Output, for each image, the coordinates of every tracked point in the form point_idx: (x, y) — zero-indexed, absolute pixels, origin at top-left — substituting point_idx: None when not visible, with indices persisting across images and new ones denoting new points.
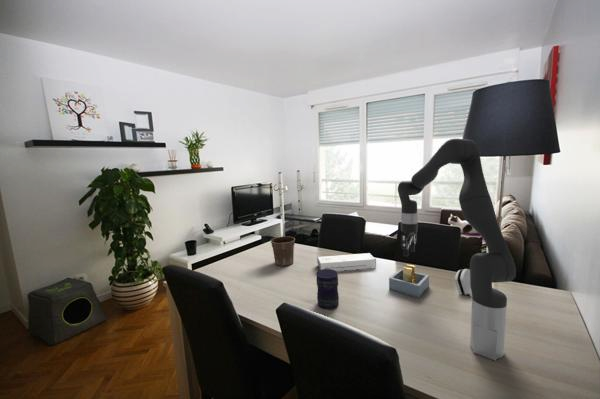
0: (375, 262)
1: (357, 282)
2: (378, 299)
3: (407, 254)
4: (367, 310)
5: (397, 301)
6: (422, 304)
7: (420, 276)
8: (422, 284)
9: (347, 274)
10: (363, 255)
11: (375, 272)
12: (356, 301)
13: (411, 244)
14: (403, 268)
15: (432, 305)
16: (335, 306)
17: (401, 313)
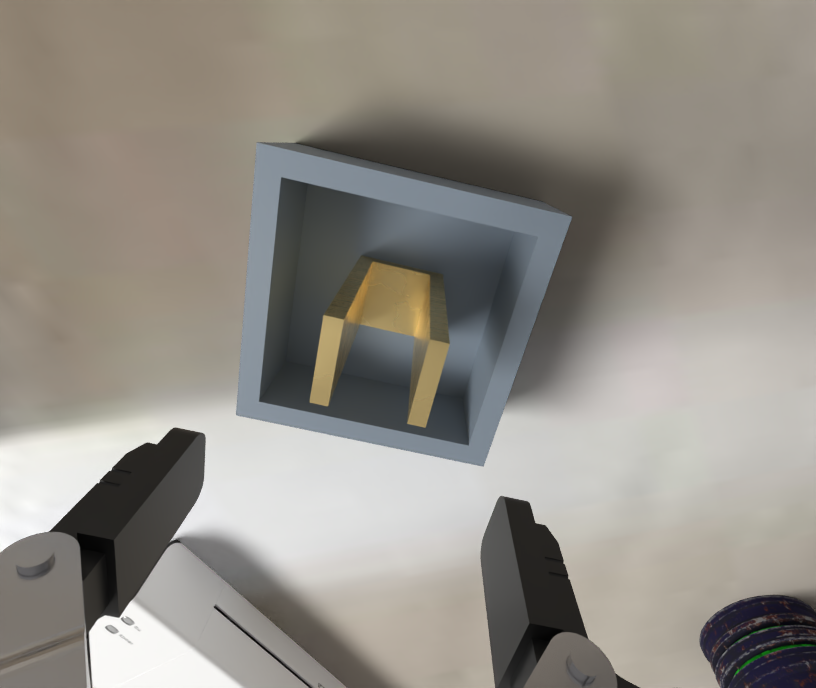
0: (151, 574)
1: (448, 579)
2: (641, 442)
3: (535, 532)
4: (796, 469)
5: (638, 336)
6: (640, 163)
7: (283, 228)
8: (468, 190)
9: (363, 641)
10: (120, 671)
11: (246, 525)
12: (697, 536)
13: (113, 591)
14: (426, 417)
15: (637, 82)
16: (801, 608)
17: (806, 288)
